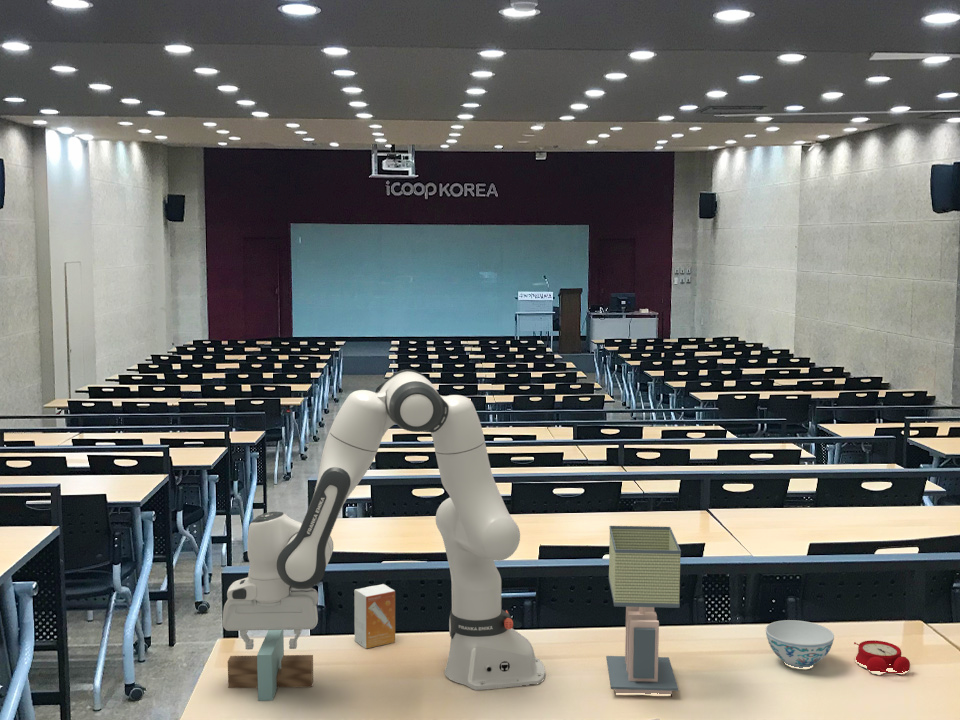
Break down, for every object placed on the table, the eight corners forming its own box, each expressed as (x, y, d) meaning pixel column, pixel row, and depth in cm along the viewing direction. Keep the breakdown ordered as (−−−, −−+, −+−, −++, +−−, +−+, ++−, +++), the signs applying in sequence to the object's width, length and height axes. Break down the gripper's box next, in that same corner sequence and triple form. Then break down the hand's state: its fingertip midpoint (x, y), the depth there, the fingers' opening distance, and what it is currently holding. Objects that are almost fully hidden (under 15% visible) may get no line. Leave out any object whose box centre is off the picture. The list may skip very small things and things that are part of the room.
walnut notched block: (313, 681, 232) (312, 654, 232) (311, 686, 229) (311, 660, 229) (231, 682, 232) (230, 655, 231) (228, 687, 229) (227, 661, 228)
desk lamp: (605, 664, 242) (608, 525, 238) (668, 666, 241) (671, 526, 237) (611, 699, 223) (613, 549, 220) (678, 701, 223) (682, 550, 219)
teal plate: (284, 669, 239) (283, 627, 237) (272, 700, 223) (271, 654, 222) (270, 669, 239) (269, 627, 237) (258, 700, 223) (257, 655, 221)
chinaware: (764, 648, 251) (766, 617, 251) (831, 655, 247) (832, 623, 247) (764, 673, 237) (765, 640, 236) (834, 681, 233) (835, 647, 232)
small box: (366, 649, 250) (365, 596, 249) (354, 641, 256) (353, 589, 254) (396, 642, 255) (395, 590, 253) (383, 634, 260) (383, 583, 259)
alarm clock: (890, 638, 248) (918, 649, 234) (891, 666, 248) (920, 678, 233) (846, 639, 248) (872, 649, 233) (848, 666, 247) (873, 679, 233)
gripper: (319, 581, 232) (321, 641, 233) (225, 582, 231) (228, 643, 233) (315, 590, 225) (317, 653, 227) (219, 592, 225) (221, 654, 227)
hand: (271, 648), depth 230 cm, fingers open, 8 cm apart
